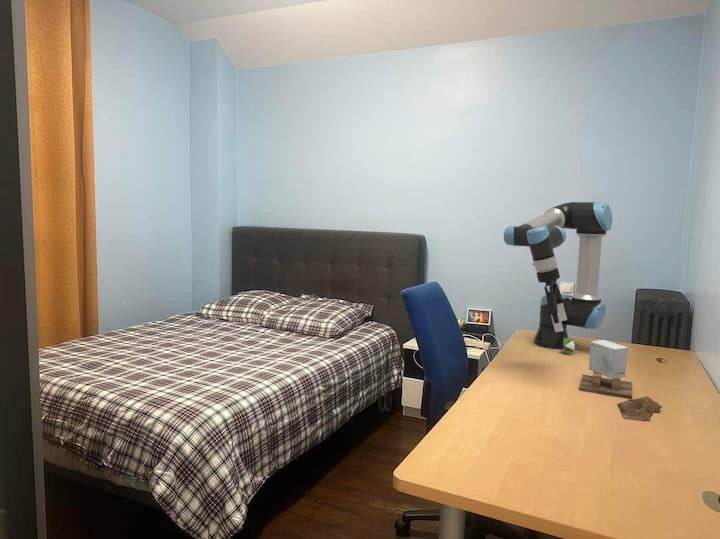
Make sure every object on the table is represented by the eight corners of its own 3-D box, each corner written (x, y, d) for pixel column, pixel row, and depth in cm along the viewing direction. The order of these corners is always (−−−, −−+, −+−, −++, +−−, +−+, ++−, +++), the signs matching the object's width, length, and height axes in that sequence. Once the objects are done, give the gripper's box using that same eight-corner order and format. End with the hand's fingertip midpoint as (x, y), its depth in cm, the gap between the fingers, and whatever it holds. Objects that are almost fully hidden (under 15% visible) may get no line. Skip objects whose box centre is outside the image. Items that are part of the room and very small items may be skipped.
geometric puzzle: (553, 345, 222) (561, 334, 217) (566, 344, 224) (575, 333, 219) (561, 358, 217) (570, 347, 212) (574, 357, 219) (583, 346, 214)
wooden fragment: (645, 425, 145) (646, 422, 145) (605, 414, 153) (605, 411, 153) (670, 403, 163) (671, 400, 163) (633, 394, 171) (633, 391, 171)
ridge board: (582, 377, 187) (583, 363, 186) (631, 384, 179) (632, 371, 179) (578, 390, 172) (579, 375, 172) (631, 399, 165) (633, 384, 165)
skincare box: (587, 369, 179) (589, 340, 178) (601, 368, 181) (603, 339, 180) (611, 379, 169) (614, 348, 168) (626, 377, 172) (628, 347, 170)
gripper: (540, 265, 195) (554, 318, 197) (530, 278, 173) (546, 337, 175) (561, 261, 192) (574, 314, 193) (553, 274, 170) (569, 334, 171)
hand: (561, 325), depth 184 cm, fingers open, 13 cm apart
